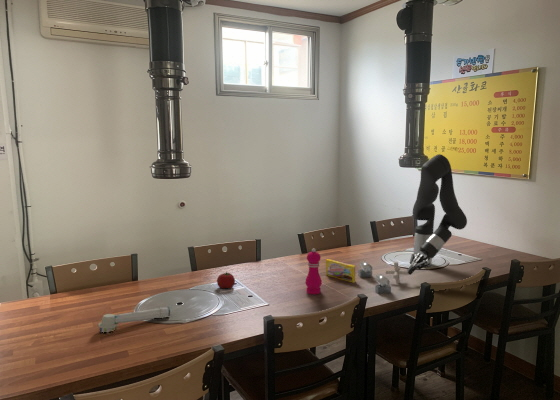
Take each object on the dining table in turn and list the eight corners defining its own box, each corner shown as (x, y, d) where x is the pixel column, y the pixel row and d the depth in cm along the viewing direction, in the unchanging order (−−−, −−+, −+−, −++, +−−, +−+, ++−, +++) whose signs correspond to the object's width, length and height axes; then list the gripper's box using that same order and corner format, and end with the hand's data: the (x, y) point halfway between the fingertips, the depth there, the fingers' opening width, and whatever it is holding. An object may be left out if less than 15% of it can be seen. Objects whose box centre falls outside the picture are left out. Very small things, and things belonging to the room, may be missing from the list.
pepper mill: (310, 296, 176) (311, 251, 173) (302, 290, 182) (302, 247, 179) (324, 293, 179) (325, 249, 176) (316, 287, 185) (316, 245, 182)
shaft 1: (357, 275, 201) (358, 261, 200) (369, 274, 202) (369, 260, 201) (362, 279, 195) (362, 265, 194) (374, 278, 196) (374, 264, 195)
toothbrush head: (171, 309, 155) (100, 316, 142) (169, 326, 156) (99, 334, 142) (167, 304, 159) (98, 311, 146) (165, 321, 160) (97, 328, 147)
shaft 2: (373, 289, 183) (373, 274, 182) (385, 288, 184) (386, 273, 183) (378, 294, 177) (378, 279, 176) (391, 293, 178) (391, 278, 177)
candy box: (325, 275, 202) (325, 259, 200) (327, 274, 203) (328, 258, 202) (353, 283, 191) (353, 266, 190) (355, 282, 192) (355, 265, 191)
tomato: (228, 283, 192) (227, 268, 191) (238, 287, 187) (238, 272, 186) (214, 287, 187) (213, 272, 186) (224, 292, 181) (224, 276, 180)
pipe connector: (407, 287, 184) (405, 267, 182) (385, 286, 188) (383, 266, 186) (410, 278, 193) (408, 258, 191) (388, 277, 197) (387, 258, 195)
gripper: (419, 237, 196) (396, 264, 195) (435, 243, 183) (410, 272, 182) (429, 247, 198) (405, 274, 197) (445, 254, 185) (420, 282, 184)
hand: (408, 273), depth 190 cm, fingers closed
